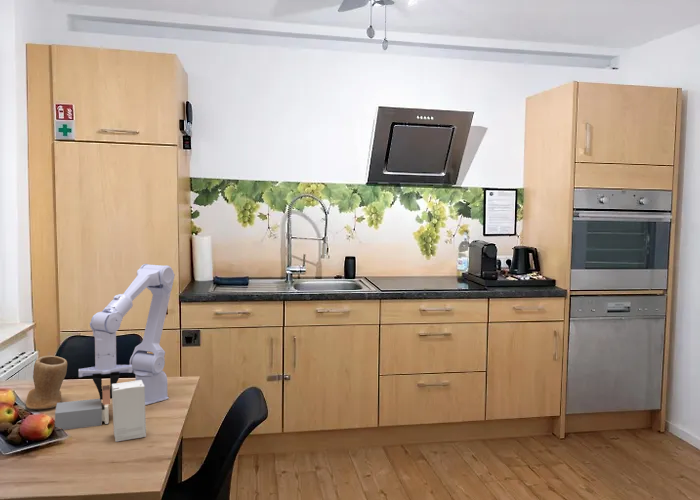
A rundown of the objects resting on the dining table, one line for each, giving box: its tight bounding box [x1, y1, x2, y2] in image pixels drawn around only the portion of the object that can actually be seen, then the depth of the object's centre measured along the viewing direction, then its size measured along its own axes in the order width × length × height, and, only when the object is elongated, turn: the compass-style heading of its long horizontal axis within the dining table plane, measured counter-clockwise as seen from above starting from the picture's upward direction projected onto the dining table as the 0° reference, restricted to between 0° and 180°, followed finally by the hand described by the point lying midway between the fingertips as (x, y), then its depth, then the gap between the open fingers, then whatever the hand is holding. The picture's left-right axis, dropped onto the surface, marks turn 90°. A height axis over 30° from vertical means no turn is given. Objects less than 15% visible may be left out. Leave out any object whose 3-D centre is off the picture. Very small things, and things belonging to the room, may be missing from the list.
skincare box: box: [112, 379, 147, 442], centre depth 163 cm, size 8×6×15 cm
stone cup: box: [25, 355, 68, 410], centre depth 187 cm, size 15×12×15 cm
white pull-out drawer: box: [101, 384, 111, 425], centre depth 173 cm, size 13×9×9 cm
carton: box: [54, 398, 103, 431], centre depth 173 cm, size 12×9×5 cm
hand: (106, 398), depth 175 cm, fingers closed on white pull-out drawer, 2 cm apart
